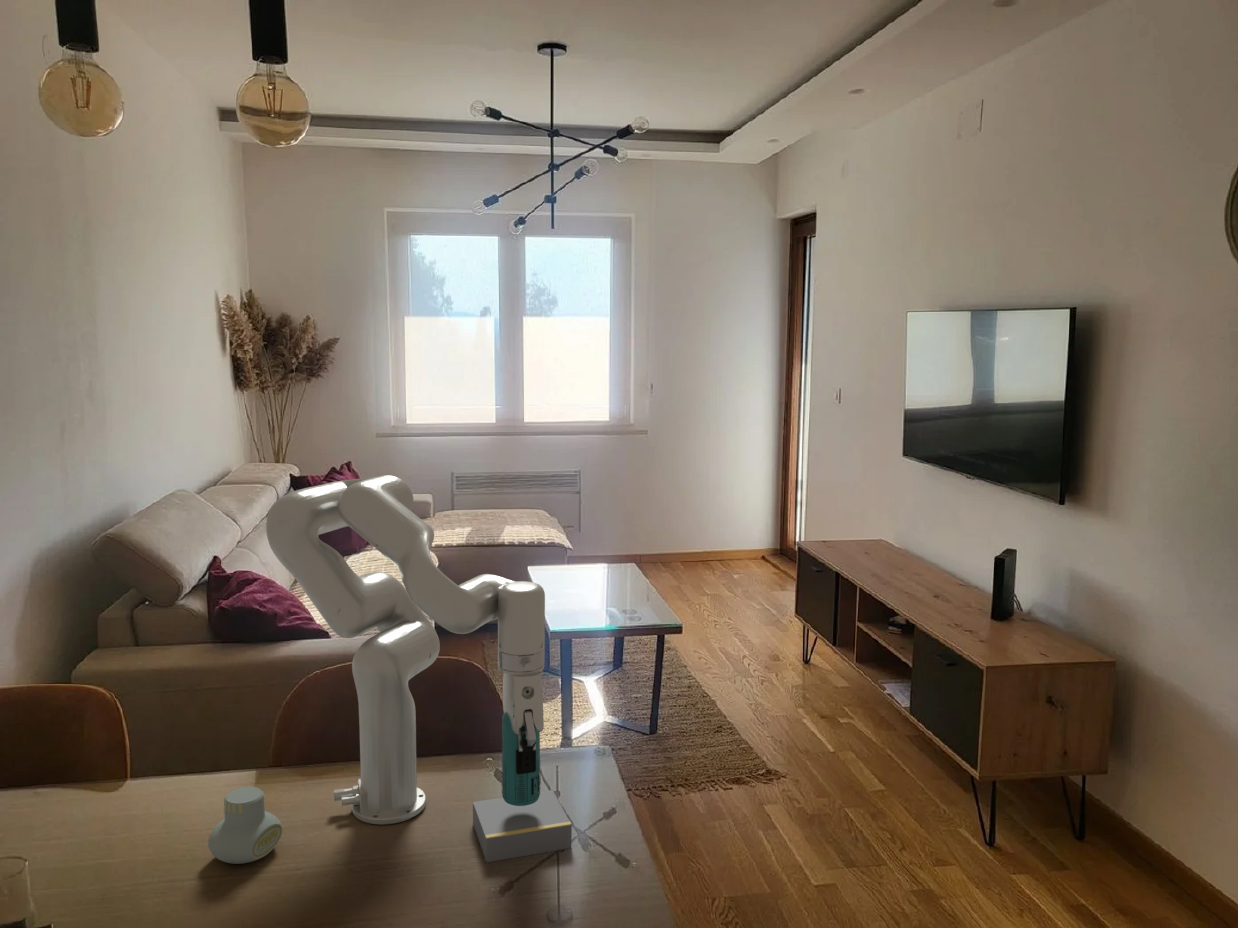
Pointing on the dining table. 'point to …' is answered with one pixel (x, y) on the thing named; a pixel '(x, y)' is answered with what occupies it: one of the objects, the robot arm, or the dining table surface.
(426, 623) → the robot arm
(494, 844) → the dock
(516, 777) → the beverage bottle
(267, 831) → the air freshener
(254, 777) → the dining table surface
